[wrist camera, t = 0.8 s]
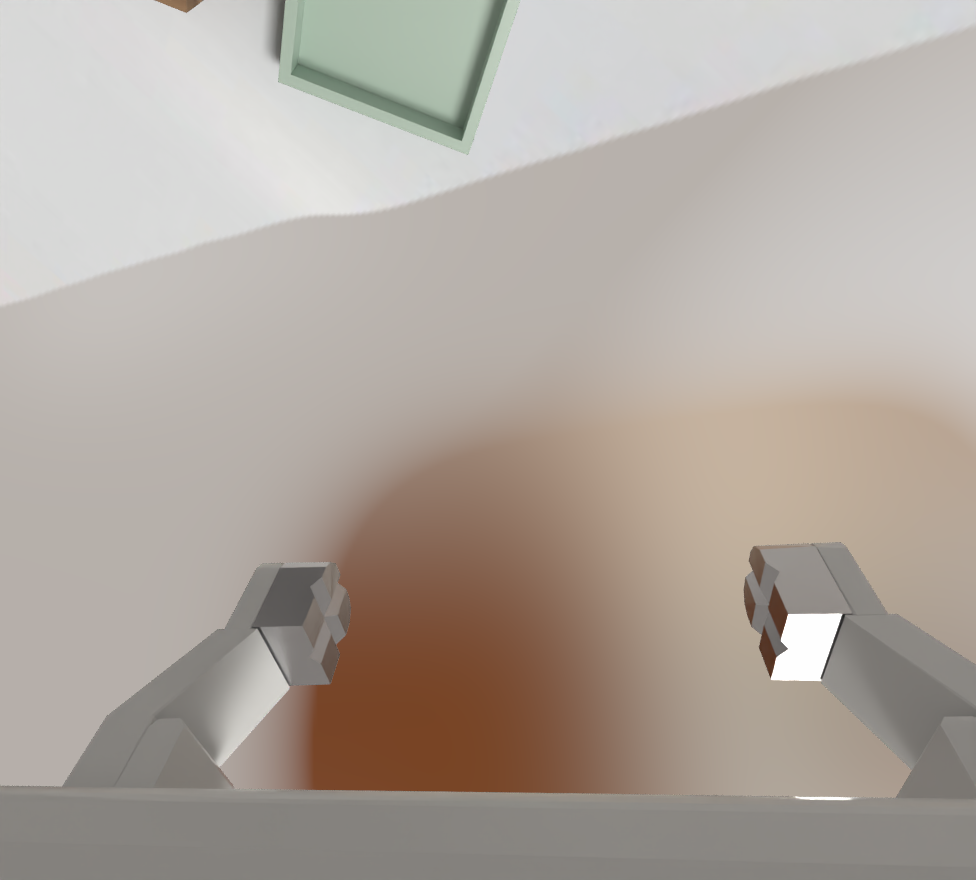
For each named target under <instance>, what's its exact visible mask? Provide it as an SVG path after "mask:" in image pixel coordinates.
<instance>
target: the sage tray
mask: <svg viewBox="0 0 976 880" xmlns="http://www.w3.org/2000/svg"><path fill="white" fill-rule="evenodd" d="M519 3H520V0H285V10H284V21H283V33H282V44H281V55H280V67H279V78H278V82H280V83H282V84H285V85H288V86H290V87H293V88H295V89H298V90H301V91H303V92H306V93H308V94H311V95H314V96H316V97H319V98H321V99H324V100H327V101H329V102H332V103H334V104H337V105H340V106H342V107H345V108H347V109H350V110H352V111H355V112H358V113H360V114H363V115H365V116H368V117H371V118H373V119H376V120H378V121H381V122H384V123H386V124H389V125H391V126H394V127H397V128H399V129H402V130H404V131H407V132H410V133H412V134H415V135H417V136H420V137H423V138H425V139H428V140H430V141H433V142H436V143H438V144H441V145H443V146H446V147H449V148H451V149H454V150H456V151H459V152H462V153H464V154H467V155H468V154H469V151H470V148H471V145H472V142H473V139H474V136H475V133H476V130H477V127H478V124H479V122H480V119H481V116H482V113H483V110H484V107H485V104H486V101H487V98H488V95H489V92H490V89H491V86H492V83H493V80H494V77H495V74H496V71H497V68H498V65H499V62H500V59H501V56H502V53H503V50H504V48H505V45H506V42H507V39H508V36H509V33H510V30H511V27H512V24H513V21H514V18H515V15H516V12H517V9H518V6H519Z"/></svg>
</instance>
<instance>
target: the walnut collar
mask: <svg viewBox="0 0 976 880" xmlns="http://www.w3.org/2000/svg"><path fill="white" fill-rule="evenodd" d="M155 1H158V2H160V3H163V4H166V5H168V6H171V7H173V8H176V9H178V10H181V11H183V12H186V13H187V12H188V11H190V10H191V9H192V8H194V7H195V6H196V5H198V4H199V3H200V2H202V1H203V0H155Z"/></svg>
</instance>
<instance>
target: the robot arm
mask: <svg viewBox="0 0 976 880" xmlns="http://www.w3.org/2000/svg"><path fill="white" fill-rule="evenodd" d="M749 562H750V565H751V567H752V570H753V571H752V572H751V573H750V574H748V575H747V576H746V577H745V585H744V602H745V607H746V612H747V616H748V619H749V621H750V624H751V627H752V628H754V629H755V630H756V631H757V632H759V633H760V634H761V635H762V636H761V640H760V645H759V649H760V652H761V654H762V657H763V660H764V662H765V665H766V667H767V670H768V673H769V676H770V678H771V680H821V683H822V684H823V685H824V686H825V687H826V688H827V689H828V690H829V691H830V692H831V693H832V694H833V695H834V696H835V697H836V698H837V699H838V700H839V701H840V702H842V704H843V705H845V706H846V707H847V708H848V709H849V710H850V711H851V712H852V713H853V714H854V715H855V716H856V717H857V718H858V719H859V720H860V721H861V722H862V723H863V724H864V725H865V726H866V727H868V728H869V729H870V730H871V731H872V732H873V733H874V734H875V735H876V736H877V737H878V738H879V739H880V740H881V741H882V742H883V743H884V744H885V745H886V746H887V747H888V748H889V749H890V750H891V751H892V752H894V753H895V754H896V755H897V756H898V757H899V758H900V759H901V760H902V761H903V762H904V763H905V764H906V765H907V766H908V767H909V768H910V769H911V770H912V771H911V773H910V775H909V776H908V778H907V780H906V782H905V783H904V785H903V786H902V788H901V790H900V791H899V793H898V795H897V797H896V798H866V797H792V796H785V797H784V796H718V795H711V796H710V795H646V794H640V795H639V794H576V793H498V792H419V791H417V792H415V791H344V790H342V791H340V790H268V789H267V790H265V789H261V790H260V789H234V786H233V784H232V783H231V782H230V781H229V779H228V778H227V777H226V775H225V774H224V773H223V772H222V771H221V769H220V768H219V767H220V766H221V765H222V764H223V763H224V762H225V761H226V759H227V758H228V757H229V756H230V755H231V754H232V753H233V751H234V750H235V749H236V748H237V747H238V746H239V745H240V743H242V741H243V740H244V739H245V738H246V737H247V736H248V735H249V734H250V732H251V731H252V730H253V729H254V728H255V727H256V726H257V724H258V723H259V722H260V721H261V720H262V719H263V718H264V717H265V716H266V714H267V713H268V712H269V711H270V710H271V709H272V708H273V707H274V705H275V704H276V703H277V702H278V701H279V700H280V699H281V697H282V696H283V695H284V694H285V693H286V692H287V691H288V690H289V689H290V687H289V686H293V685H320V684H330V683H331V681H332V677H333V674H334V671H335V668H336V665H337V661H338V659H339V656H340V654H339V651H338V649H337V647H336V644H337V643H338V642H339V641H340V640H341V639H342V638H343V637H344V636H345V635H346V633H347V629H348V626H349V623H350V610H351V607H350V601H349V596H348V593H347V591H346V589H345V588H344V587H342V586H341V585H340V584H338V580H339V577H340V573H339V570H338V568H337V566H336V564H335V563H331V562H319V563H318V562H313V563H312V562H311V563H268V564H267V563H263V564H261V565H260V566H259V567H258V568H257V569H256V570H255V572H254V574H253V576H252V578H251V579H250V581H249V583H248V585H247V587H246V589H245V591H244V593H243V595H242V597H241V599H240V600H239V602H238V605H237V606H236V608H235V610H234V612H233V614H232V616H231V618H230V619H229V621H228V623H227V625H226V627H225V629H218V630H216V631H215V632H214V633H212V634H211V635H210V636H208V637H207V638H206V639H205V640H203V641H202V642H201V643H200V644H198V645H197V646H196V647H195V648H193V649H192V650H191V651H189V652H188V653H187V654H186V655H184V656H183V657H182V658H180V659H179V660H178V661H177V662H175V663H174V664H173V665H171V666H170V667H169V668H168V669H166V670H165V671H164V672H163V673H161V674H160V675H159V676H157V677H156V678H155V679H154V680H152V681H151V682H150V683H148V684H147V685H146V686H145V687H143V688H142V689H141V690H140V691H138V692H137V693H136V694H134V695H133V696H132V697H131V698H129V699H128V700H127V701H125V702H124V703H123V704H122V705H120V706H119V707H118V708H117V709H115V710H114V711H113V712H111V713H110V714H109V715H107V716H106V718H105V720H104V721H103V723H102V724H101V726H100V727H99V729H98V731H97V732H96V734H95V736H94V737H93V739H92V740H91V742H90V743H89V745H88V746H87V748H86V750H85V751H84V753H83V754H82V756H81V758H80V759H79V761H78V763H77V764H76V766H75V767H74V769H73V770H72V772H71V773H70V775H69V777H68V778H67V780H66V781H65V783H64V785H63V786H62V787H54V786H0V880H976V665H975V664H974V663H972V662H971V661H969V660H968V659H966V658H964V657H963V656H962V655H960V654H958V653H957V652H955V651H954V650H952V649H951V648H949V647H948V646H946V645H945V644H943V643H941V642H940V641H938V640H937V639H935V638H934V637H932V636H931V635H929V634H928V633H926V632H925V631H923V630H921V629H920V628H918V627H917V626H915V625H914V624H912V623H911V622H909V621H908V620H906V619H904V618H903V617H901V616H900V615H898V614H888V613H887V611H886V610H885V608H884V606H883V605H882V603H881V601H880V600H879V598H878V597H877V595H876V593H875V592H874V590H873V589H872V587H871V585H870V584H869V582H868V581H867V579H866V577H865V576H864V574H863V572H862V571H861V569H860V568H859V566H858V564H857V563H856V561H855V560H854V558H853V556H852V555H851V553H850V552H849V550H848V548H847V547H846V546H845V545H844V544H842V543H841V542H835V543H812V544H787V545H765V546H754V547H753V549H752V550H751V552H750V558H749Z"/></svg>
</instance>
